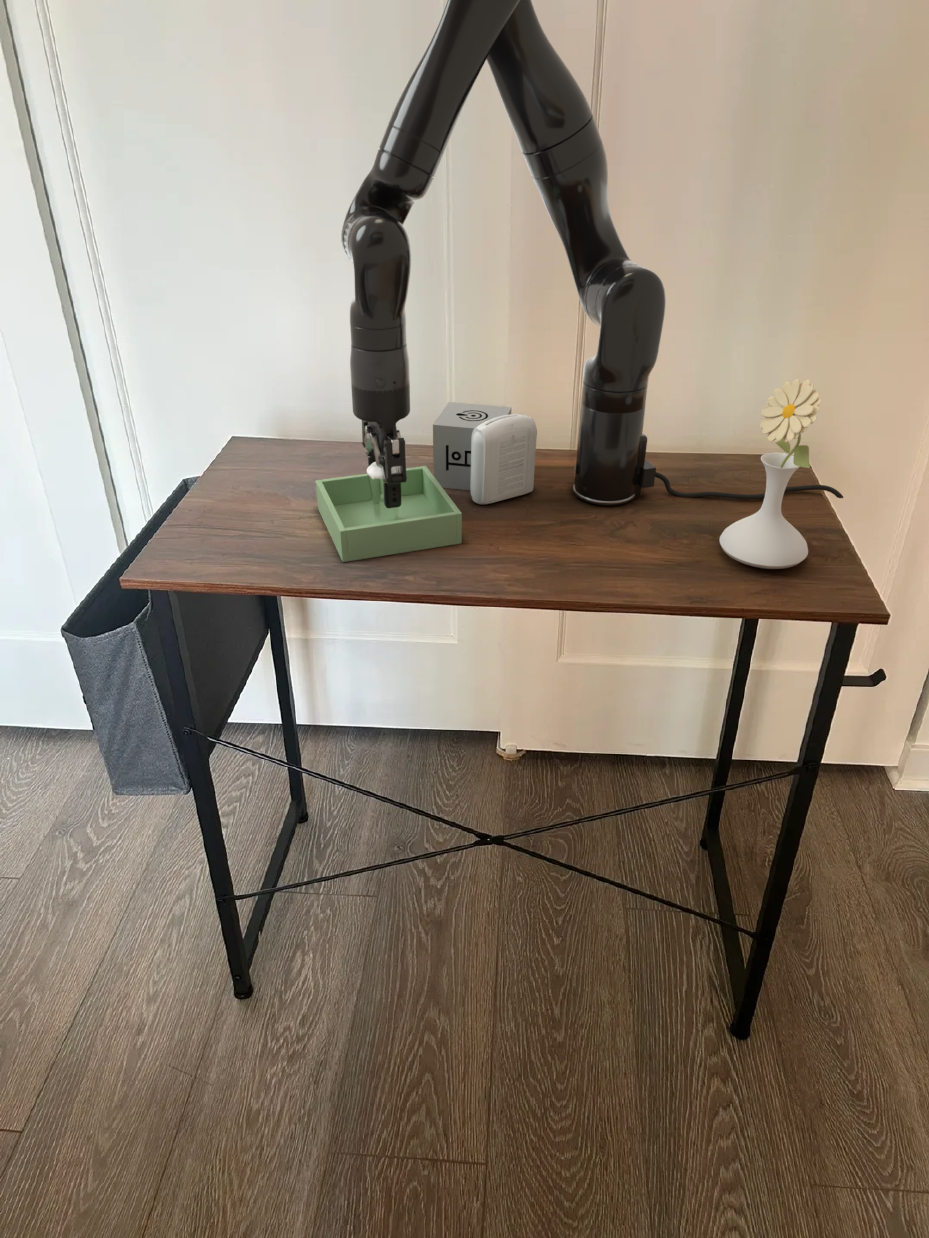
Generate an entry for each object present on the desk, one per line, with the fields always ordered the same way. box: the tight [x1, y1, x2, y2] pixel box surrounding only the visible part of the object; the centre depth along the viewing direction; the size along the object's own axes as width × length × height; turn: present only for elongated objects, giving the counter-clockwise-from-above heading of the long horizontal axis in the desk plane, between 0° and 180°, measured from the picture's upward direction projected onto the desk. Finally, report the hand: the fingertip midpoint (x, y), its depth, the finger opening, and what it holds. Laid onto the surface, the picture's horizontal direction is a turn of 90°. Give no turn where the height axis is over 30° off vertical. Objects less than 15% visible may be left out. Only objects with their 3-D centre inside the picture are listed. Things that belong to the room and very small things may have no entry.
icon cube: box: [432, 401, 512, 491], centre depth 138 cm, size 10×10×10 cm
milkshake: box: [366, 462, 398, 524], centre depth 124 cm, size 5×5×10 cm
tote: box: [315, 465, 463, 563], centre depth 126 cm, size 17×17×5 cm
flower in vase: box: [719, 378, 822, 570], centre depth 113 cm, size 13×11×25 cm
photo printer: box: [469, 413, 538, 505], centre depth 132 cm, size 10×4×12 cm, turn 123°
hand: (384, 493), depth 124 cm, fingers open, 8 cm apart
